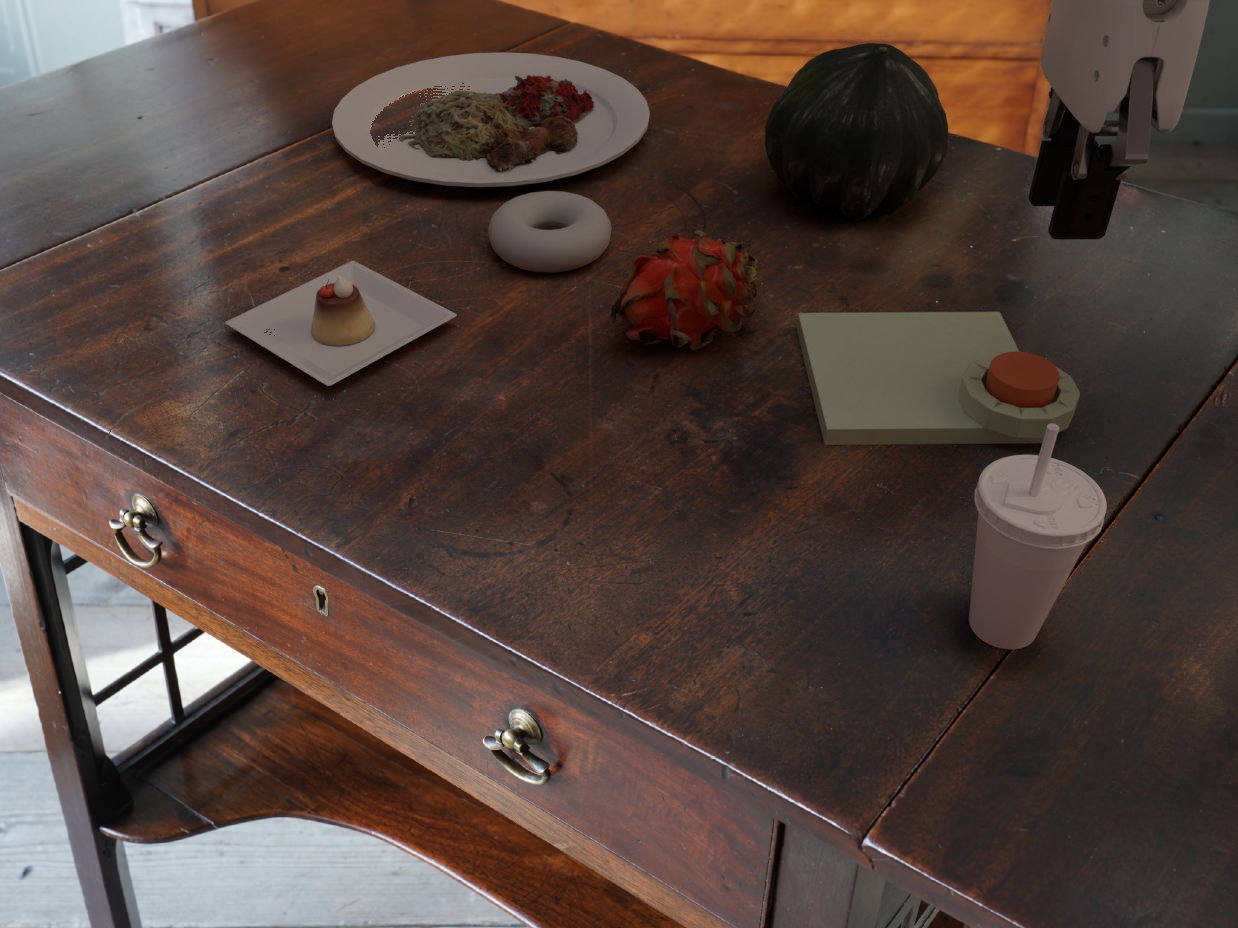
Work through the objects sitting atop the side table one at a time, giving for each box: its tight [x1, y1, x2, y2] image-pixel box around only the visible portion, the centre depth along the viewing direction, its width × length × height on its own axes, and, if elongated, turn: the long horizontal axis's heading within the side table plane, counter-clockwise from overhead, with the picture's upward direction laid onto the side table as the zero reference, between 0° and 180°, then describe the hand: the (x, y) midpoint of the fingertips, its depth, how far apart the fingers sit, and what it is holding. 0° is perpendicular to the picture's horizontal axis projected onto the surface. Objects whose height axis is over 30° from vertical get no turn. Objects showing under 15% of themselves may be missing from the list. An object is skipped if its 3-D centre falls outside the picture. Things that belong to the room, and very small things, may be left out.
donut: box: [487, 190, 613, 274], centre depth 98 cm, size 10×4×10 cm
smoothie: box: [968, 424, 1108, 650], centre depth 63 cm, size 6×6×14 cm
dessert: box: [224, 260, 458, 387], centre depth 88 cm, size 12×12×5 cm
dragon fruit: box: [610, 229, 759, 351], centre depth 88 cm, size 8×8×12 cm
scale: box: [795, 311, 1081, 446], centre depth 84 cm, size 17×15×3 cm
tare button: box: [986, 351, 1059, 408], centre depth 80 cm, size 4×4×2 cm
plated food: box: [331, 51, 651, 188], centre depth 116 cm, size 30×30×3 cm
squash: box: [764, 42, 949, 221], centre depth 103 cm, size 14×15×15 cm
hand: (1065, 217), depth 72 cm, fingers open, 3 cm apart
